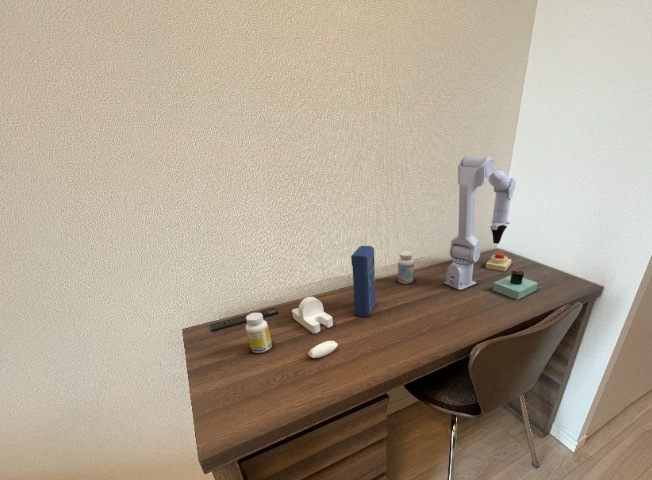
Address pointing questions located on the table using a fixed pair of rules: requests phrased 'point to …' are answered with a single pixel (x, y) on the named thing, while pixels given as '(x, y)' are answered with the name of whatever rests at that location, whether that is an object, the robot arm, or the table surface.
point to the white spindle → (323, 349)
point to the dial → (516, 277)
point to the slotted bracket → (312, 315)
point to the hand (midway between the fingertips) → (496, 243)
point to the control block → (498, 263)
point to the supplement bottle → (258, 333)
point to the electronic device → (363, 280)
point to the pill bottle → (405, 268)
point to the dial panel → (515, 287)
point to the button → (499, 255)
